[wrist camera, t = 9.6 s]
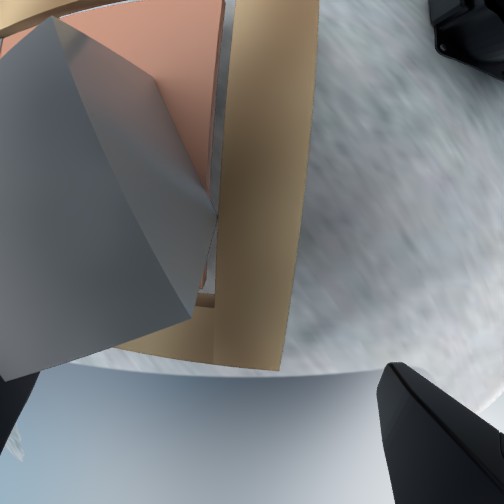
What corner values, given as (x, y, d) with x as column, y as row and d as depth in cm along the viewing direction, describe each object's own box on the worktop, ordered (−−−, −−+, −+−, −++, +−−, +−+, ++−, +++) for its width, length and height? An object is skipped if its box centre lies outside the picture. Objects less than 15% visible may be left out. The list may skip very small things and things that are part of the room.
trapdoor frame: (300, 18, 15) (320, -66, 6) (276, 275, 20) (279, 371, 12) (62, 35, 15) (-27, 6, 7) (57, 252, 20) (-25, 307, 12)
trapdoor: (225, 5, 8) (222, -7, 7) (206, 278, 12) (201, 290, 11) (1, 47, 8) (-12, 44, 8) (0, 253, 12) (-12, 261, 11)
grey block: (152, 77, 8) (51, 14, 3) (217, 216, 10) (191, 318, 4) (35, 153, 9) (-95, 185, 3) (95, 274, 11) (5, 381, 5)
